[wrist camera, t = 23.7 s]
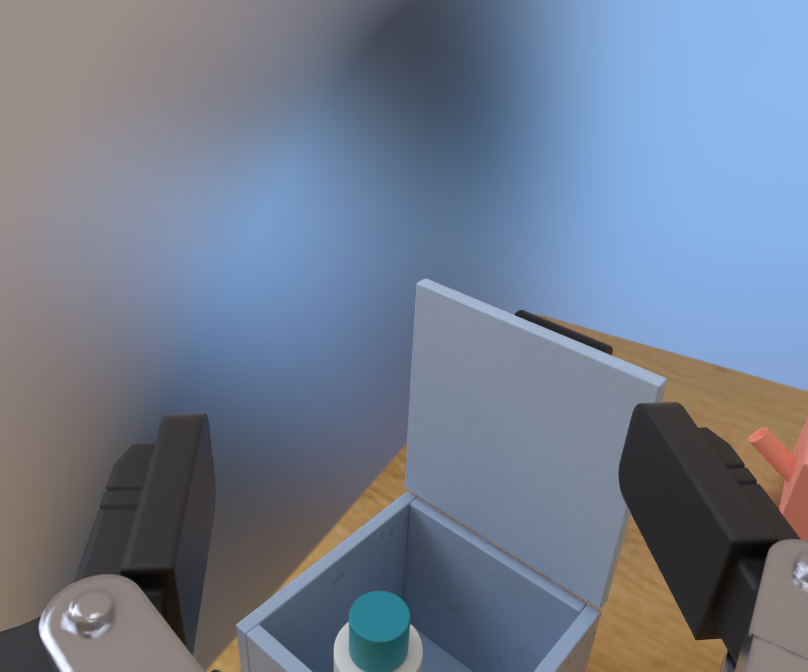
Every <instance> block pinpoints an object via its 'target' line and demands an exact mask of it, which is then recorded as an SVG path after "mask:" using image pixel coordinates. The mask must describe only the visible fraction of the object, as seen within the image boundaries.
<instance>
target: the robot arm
mask: <svg viewBox="0 0 808 672" xmlns="http://www.w3.org/2000/svg"><path fill="white" fill-rule="evenodd" d="M744 465H745V464H744V463H743V461H742V460H741V459H740V457H739V456H738V455H737V453H736V452H735V451H734V449H733V448H732V447H731V446H730V444H728V443H727V442H726V441H724V440H723V439H722V438H720V437H719V436H717V435H716V434H715V433H713V432H712V431H711V430H709V429H708V428H698V427H697V426H696V424H695V423H694V421H693V420H692V419H691V417H690V416H689V414H688V413H687V412H686V410H685V409H684V407H683V406H682V405H681V404H680V403H677V402H666V403H639V404H637V405H636V406H635V408H634V410H633V412H632V416H631V420H630V424H629V428H628V432H627V436H626V440H625V444H624V447H623V451H622V455H621V459H620V463H619V471H618V477H619V486H620V490H621V494H622V496H623V499H624V501H625V503H626V505H627V506H628V508H629V510H630V512H631V514H632V516H633V518H634V520H635V522H636V524H637V526H638V528H639V530H640V532H641V534H642V536H643V538H644V540H645V542H646V544H647V546H648V548H649V550H650V551H651V553H652V555H653V557H654V559H655V561H656V563H657V565H658V567H659V569H660V571H661V573H662V575H663V577H664V579H665V581H666V583H667V585H668V587H669V589H670V591H671V593H672V594H673V596H674V598H675V600H676V602H677V604H678V606H679V608H680V610H681V612H682V614H683V616H684V618H685V620H686V622H687V624H688V626H689V628H690V630H691V632H692V634H693V636H694V638H695V639H696V640H707V639H722V640H723V642H724V644H725V646H726V648H727V651H726V654H725V656H724V658H723V661H722V664H721V668H720V672H808V541H805V540H801V539H800V537H799V536H798V535H797V533H796V532H795V531H794V529H793V528H792V527H791V525H790V524H789V523H788V521H787V520H786V519H785V517H784V516H783V515H782V513H781V512H780V511H779V509H778V508H777V507H776V505H775V504H774V503H773V501H772V500H771V499H770V497H769V496H768V495H767V493H766V492H765V491H764V489H763V488H762V487H761V485H760V484H757V483H756V481H757V480H756V479H755V477H754V476H753V475H752V473H751V472H750V471H749V469H748V468H745V467H744ZM215 492H216V491H215V475H214V466H213V457H212V448H211V439H210V430H209V421H208V417H207V415H206V414H192V415H164V416H163V418H162V421H161V425H160V428H159V432H158V436H157V439H156V443H155V444H136V445H132V446H131V447H130V448H129V449H128V450H127V451H126V452H125V453H124V454H123V455H122V457H121V458H120V459H119V460H118V461H117V462H116V463H115V464H114V465H113V468H112V471H111V474H110V477H109V480H108V483H107V486H106V492H104V495H103V498H102V501H101V504H100V510H99V511H98V513H97V516H96V519H95V522H94V524H93V528H92V530H91V534H90V537H89V539H88V542H87V545H86V548H85V551H84V554H83V557H82V560H81V563H80V566H79V569H78V572H77V575H76V578H75V580H74V582H73V584H71V585H69V586H67V587H66V588H64V589H63V590H62V591H60V592H59V593H58V594H57V595H56V596H55V597H54V598H53V599H52V600H51V601H50V602H49V603H48V605H47V606H46V607H45V609H44V611H43V613H42V615H41V616H40V617H38V618H36V619H34V620H32V621H30V622H28V623H26V624H23V625H20V626H18V627H15V628H12V629H8V630H5V631H2V632H0V672H206V671H205V670H204V669H203V668H202V667H201V666H200V665H199V663H198V662H197V661H196V660H195V658H194V657H193V651H194V644H195V637H196V631H197V623H198V618H199V611H200V605H201V598H202V591H203V584H204V578H205V572H206V565H207V559H208V552H209V546H210V539H211V532H212V526H213V519H214V512H215V494H216V493H215ZM212 672H221V671H219V670H213V671H212Z"/></svg>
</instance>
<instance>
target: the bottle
mask: <svg viewBox="0 0 808 672" xmlns="http://www.w3.org/2000/svg"><path fill="white" fill-rule="evenodd" d="M410 619H411V616H410V611H409V608H408V606H407V604H406V603H405V602H404V601H403V600H402V599H401V598H400V597H399V596H397V595H395V594H393V593H390V592H386V591H373V592H369V593H366V594H364V595H362V596H361V597H359V598H358V599H357V600H356V601H355V602H354V604H353V605H352V607H351V609H350V612H349V622H348V623H347V624H345V626H344V627H343V628H342V629H341V630H340V632H339V633H338V635H337V637H336V640H335V644H334V672H421V670H422V658H423V646H422V641H421V639H420V636H419V634H418V633H417V631H416V630H415V628H414V627H413V626H412V625H411V624H410Z"/></svg>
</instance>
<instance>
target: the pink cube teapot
mask: <svg viewBox="0 0 808 672" xmlns="http://www.w3.org/2000/svg"><path fill="white" fill-rule="evenodd" d="M749 442H750V443H751V444H752V445H753V446H754V447H755V448H756V449H757V450H758V452H759V453H760V454H761V455H762V456H763V457H764V458H765V459H766V460H767V461H768V462H769V463H770V464H771V465H772V466H773V467H774V468H775V469H776V470H777V471H778V473H779V474H780V475H781V476H782V477H783V478H784V479H785V481H784V486H783V492H782V497H781V502H780V508H779V511H780V512H781V513H782V515H783V516H784V517H785V519H786V520H787V521H788V523H789V524H790V525H791V527H792V528H793V529H794V531H795V532H796V533H797V535H798V536H799V537H800V539H801V540H805V541H808V417H807V419H806V422H805V424H804V427H803V429H802V432H801V434H800V437H799V439H798V442H797V444H796V447H795V449H794V451H793V454H792V455H791V454H790V453H789V452H788V450H787V449H786V448H785V447H784V446H783V445H782V444H781V443H780V442H779V441H778V440H777V438H776V437H775V436H774V435H773V434H772V433H771V432H770V431H769V430H768V429H767V428H761V429H759V430H757V431H756V432H754V433H753V434H752V435H751V436H750V437H749Z"/></svg>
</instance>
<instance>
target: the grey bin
mask: <svg viewBox="0 0 808 672" xmlns="http://www.w3.org/2000/svg"><path fill="white" fill-rule="evenodd" d="M373 591H386V592H390V593H393V594H395V595H397V596H399V597H400V598H401V599H402V600H403V601H404V602H405V603H406V604H407V606H408V608H409V611H410V616H411V619H410V624H411V625H412V626H413V627H414V628H415V630H416V631H417V633H418V634H419V636H420V639H421V641H422V646H423V658H422V670H421V672H585V671H586V667H587V663H588V660H589V656H590V652H591V649H592V645H593V641H594V637H595V634H596V630H597V626H598V623H599V619H600V615H601V611H600V610H598V609H596V608H595V607H593V606H592V605H590V604H588V605H587V603H586V602H585V601H584V600H582V599H580V598H579V597H577V596H576V595H574V594H572V593H571V592H569V591H568V590H566V589H564V588H563V587H561V586H560V585H558V584H556V583H555V582H553V581H552V580H550V579H548V578H547V577H545V576H544V575H542V574H540V573H539V572H537V571H536V570H534V569H532V568H531V567H529V566H528V565H526V564H524V563H523V562H521V561H520V560H518V559H516V558H515V557H513V556H512V555H510V554H508V553H507V552H505V551H504V550H502V549H500V548H499V547H497V546H496V545H494V544H492V543H491V542H489V541H488V540H486V539H484V538H483V537H481V536H480V535H478V534H476V533H475V532H473V531H472V530H470V529H468V528H467V527H465V526H464V525H462V524H460V523H459V522H457V521H456V520H454V519H452V518H451V517H449V516H448V515H446V514H444V513H443V512H441V511H440V510H438V509H436V508H435V507H433V506H432V505H430V504H428V503H427V502H425V501H424V500H422V499H420V498H417V496H415V495H414V494H412V493H411V492H409V491H407V492H405V493H404V494H403V495H402V496H400V497H399V498H398V499H396V500H395V501H394V502H393V503H391V504H390V505H389V506H388V507H386V508H385V509H384V510H382V511H381V512H380V513H379V514H377V515H376V516H375V517H373V518H372V519H371V520H370V521H368V522H367V523H366V524H364V525H363V526H362V527H361V528H359V529H358V530H357V531H356V532H354V533H353V534H352V535H350V536H349V537H348V538H347V539H345V540H344V541H343V542H341V543H340V544H339V545H338V546H336V547H335V548H334V549H332V550H331V551H330V552H329V553H327V554H326V555H325V556H324V557H322V558H321V559H320V560H318V561H317V562H316V563H315V564H313V565H312V566H311V567H309V568H308V569H307V570H306V571H304V572H303V573H302V574H300V575H299V576H298V577H297V578H295V579H294V580H293V581H292V582H290V583H289V584H288V585H286V586H285V587H284V588H283V589H281V590H280V591H279V592H277V593H276V594H275V595H274V596H272V597H271V598H270V599H268V600H267V601H266V602H265V603H263V604H262V605H261V606H260V607H258V608H257V609H256V610H255V611H253V612H252V613H251V614H249V615H248V616H247V617H245V618H244V619H243V620H242V621H240V622H239V623H238V624H237V626H236V628H237V637H238V646H239V655H240V665H241V672H334V644H335V640H336V637H337V635H338V633H339V632H340V630H341V629H342V628H343V627H344V626H345V624H347V623H348V622H349V612H350V609H351V607H352V605H353V604H354V602H355V601H356V600H357V599H358V598H359V597H361V596H362V595H364V594H366V593H369V592H373Z"/></svg>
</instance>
